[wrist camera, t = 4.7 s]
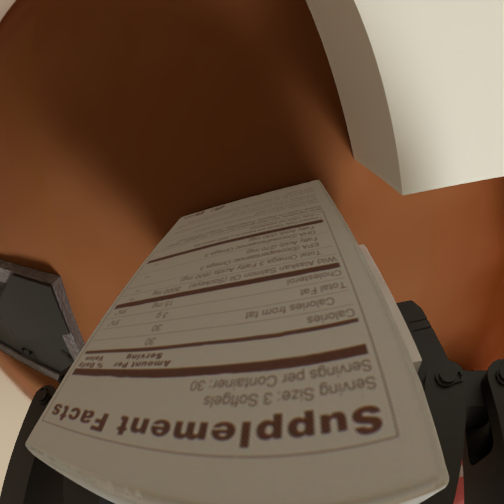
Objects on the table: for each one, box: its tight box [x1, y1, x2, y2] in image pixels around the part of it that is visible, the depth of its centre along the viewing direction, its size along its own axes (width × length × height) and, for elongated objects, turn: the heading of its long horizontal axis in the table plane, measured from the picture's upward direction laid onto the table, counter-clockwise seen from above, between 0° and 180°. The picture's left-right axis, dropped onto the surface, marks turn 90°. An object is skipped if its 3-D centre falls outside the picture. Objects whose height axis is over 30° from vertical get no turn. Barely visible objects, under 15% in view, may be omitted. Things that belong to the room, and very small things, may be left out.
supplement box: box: [25, 180, 449, 504], centre depth 9 cm, size 7×7×13 cm
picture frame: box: [0, 260, 85, 380], centre depth 21 cm, size 16×2×21 cm
